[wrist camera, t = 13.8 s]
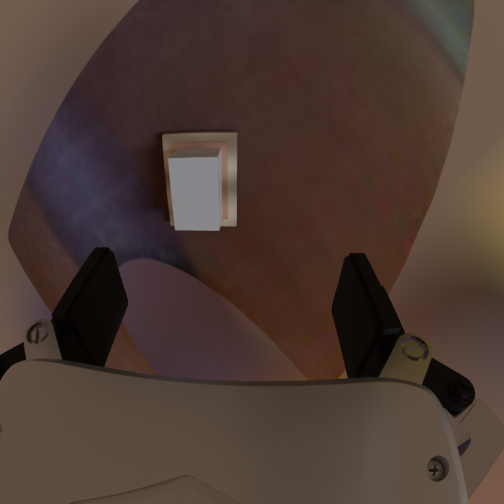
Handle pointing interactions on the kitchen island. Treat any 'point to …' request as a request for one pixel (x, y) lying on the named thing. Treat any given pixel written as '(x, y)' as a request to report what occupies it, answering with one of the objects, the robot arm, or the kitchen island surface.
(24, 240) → the kitchen island surface
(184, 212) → the block
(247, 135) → the kitchen island surface
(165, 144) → the pin block
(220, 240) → the kitchen island surface
